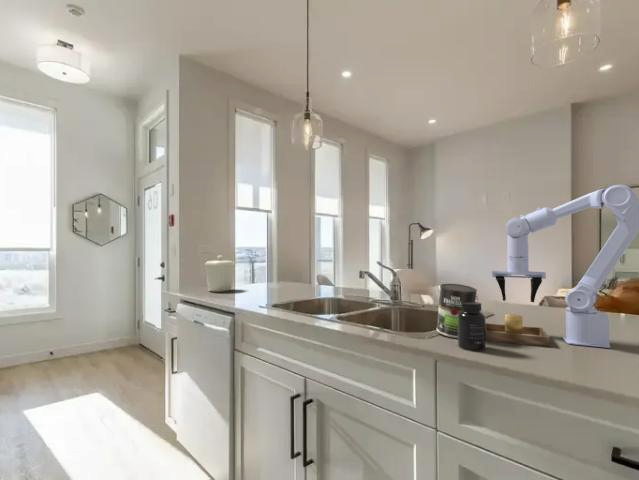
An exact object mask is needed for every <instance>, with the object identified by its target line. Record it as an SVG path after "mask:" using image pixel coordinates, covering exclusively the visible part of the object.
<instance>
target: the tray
mask: <svg viewBox="0 0 639 480" xmlns="http://www.w3.org/2000/svg"><path fill="white" fill-rule="evenodd" d="M486 342H495V343H506V344H515V345H524V346H533V347H534V346H535V347H542V348H543V347H545V348H550V345H551V343H550V336H549V335H548V334H547V333H546V331H545V330H544V328H543V327H538V326H536V327H535V326H524V325H522V334H513V333H505V324H499V323H488V322H486Z"/></svg>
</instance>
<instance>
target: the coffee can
mask: <svg viewBox="0 0 639 480" xmlns="http://www.w3.org/2000/svg"><path fill="white" fill-rule="evenodd" d="M477 291H478V289H476V288H474V287H473V286H469V285H466V284H465V285H464V284H458V283H442V284H440V285H439V300H438V311H437V320H436V321H437V322H436V323H437V324H436V329H435V330H436V331H437V333H438V334H440V335H442V336H445V337H448V338H453V339H458V314H459V313H460V312H461V311H463V310H462V309H461V307H462V302H465V301H472V302H476V298H477Z"/></svg>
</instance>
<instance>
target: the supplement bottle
mask: <svg viewBox="0 0 639 480" xmlns="http://www.w3.org/2000/svg"><path fill="white" fill-rule="evenodd" d="M461 309H462V310H463V311H461V312H460V313H459V314H458V338H457V346H458V347H459V348H460V349H463V350H466V351H472V352H481V351H484V350H485V349H486V348H487V347H486V346H487V345H486V344H487V341H486V323H487V322H486V316H485V314H483V313H482V312H481V311H482V303H481V302H479V301H475V302H472V301H465V302H462V307H461Z"/></svg>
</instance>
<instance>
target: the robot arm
mask: <svg viewBox="0 0 639 480" xmlns="http://www.w3.org/2000/svg"><path fill="white" fill-rule="evenodd" d="M604 206H606V207H607V209H609V210H610V211H611V212H612V213H613V217H614V220H616V223H617V225H616V227H615V229H613V231H612V233H611V234H610V236H609V237H608V239H607V240H606V242H605V244H604V245H603V246H602V248H601V249H600V251H599V253H598V254H597V256H596V257H595V258H594V260H593V261H592V263H591V264H590V266H589V267H588V269H587V270H586V271H585V273H584V274H583V276H582V277H581V279H580V281H578V282H577V284H576V286H574V287H573V288H571V289H569V290H568V291H567V292H566V293H565V296H564V301H565V303H566V305H567V306H566V307H565V335H561V338H562V340H564V341H565V342H566V344H568V345H573V346H574V345H575V346H587V347H596V348H607V349H610V348H611V345H610V319H609V316H608V314H607V313H606V312H603V311H602V312H599V311H598V309H597V308H596V307H595V306H594V304H595V303H596V302H597V295H598V291H599V290H600V289H601V287H602V286H603V284H604V283H605V281H606V279H607V278H608V276H610V274H611V273H612V271H613V270H614V268H615V267H616V265H617V264H618V262H619V261H620V259H621V258H622V257H623V255H624V253H625V252H626V251H627V250H628V248H629V247H630V245H631V244H632V242H633V241H634V239H635V237H636V236H637V235H638V233H639V197H638V196H637V194H636V193H635V192H634V191H633V188H631V187H629V186H628V185H625V184H614V185H611V186H609V187H607V188H601V189H598V190H595V191H593V192H589V193H587V194H585V195H582V196H580V197H577V198H575V199H573V200H570V201H568V202H566V203H563V204H561V205H558V206H556V207H554V208H551V207H547V206H545V207H536V210H535V211H532V212H530V213H527V214H521V215H519V217H520V218H519V217H514V218H513V217H512V218H511V219H510V220H508V221H507V222H506V224H505V225H504V226H505V227H504V231H505V232H506V234H507V242H506V245H507V246H506V250H507V253H506V254H507V258H506V259H507V266H506V267H507V270H491V278H495V280H496V282H497V283H498V286H499V290H500V292H501V296H502V301H504V302H506V300H507V298H506V278H521V279H527V278H528V279H529V280H530V302H531V303H535V299H536V296H537V292H538V290H539V287H540V285H542V282H543V280H545V279H547V273H546V272H545V271H531V270H529V239H528V238H529V237H528V236H529V234H530V233H532V234H533V233H535V232H538V231H541V230H543V229H547V228H549V227H552V226H555V225H556V223H557V221H558V219H560V218H563V217H566V216H570V215H572V214H576V213H578V212H581V211H584V210H587V209H588V210H589V209H600V210H602V209H604Z"/></svg>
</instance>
